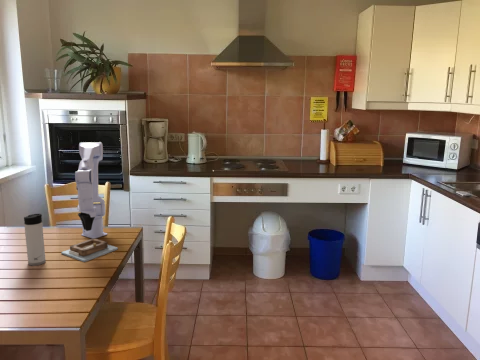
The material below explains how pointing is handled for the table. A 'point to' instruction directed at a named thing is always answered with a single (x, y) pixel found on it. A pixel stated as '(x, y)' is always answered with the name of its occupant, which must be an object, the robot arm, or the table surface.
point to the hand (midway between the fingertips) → (87, 229)
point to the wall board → (90, 256)
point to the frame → (89, 247)
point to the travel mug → (34, 239)
